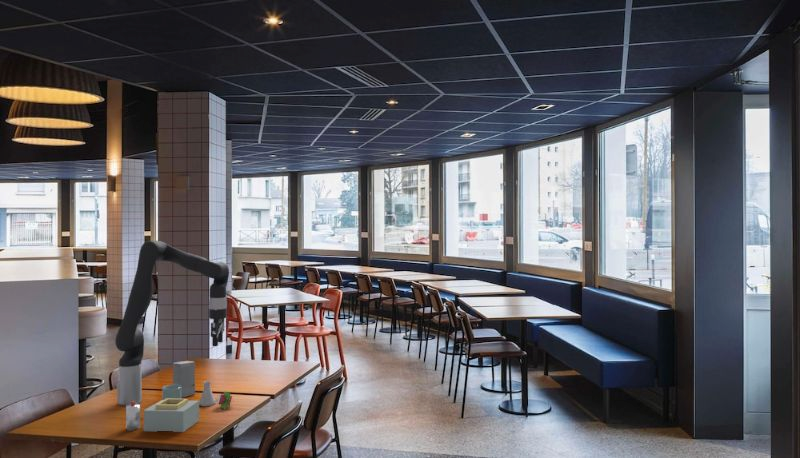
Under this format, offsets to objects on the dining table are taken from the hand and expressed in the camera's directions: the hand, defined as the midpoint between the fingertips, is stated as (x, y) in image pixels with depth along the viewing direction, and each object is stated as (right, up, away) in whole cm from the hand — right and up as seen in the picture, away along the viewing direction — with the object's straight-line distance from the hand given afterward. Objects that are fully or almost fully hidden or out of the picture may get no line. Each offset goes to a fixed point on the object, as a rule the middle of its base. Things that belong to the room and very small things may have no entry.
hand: (217, 344), depth 256 cm
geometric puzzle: (+4, -28, -2) cm, 28 cm away
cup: (-18, -28, -5) cm, 34 cm away
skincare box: (-21, -28, +18) cm, 39 cm away
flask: (-6, -28, +3) cm, 29 cm away
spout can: (-24, -28, -28) cm, 46 cm away
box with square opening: (-10, -28, -25) cm, 39 cm away
